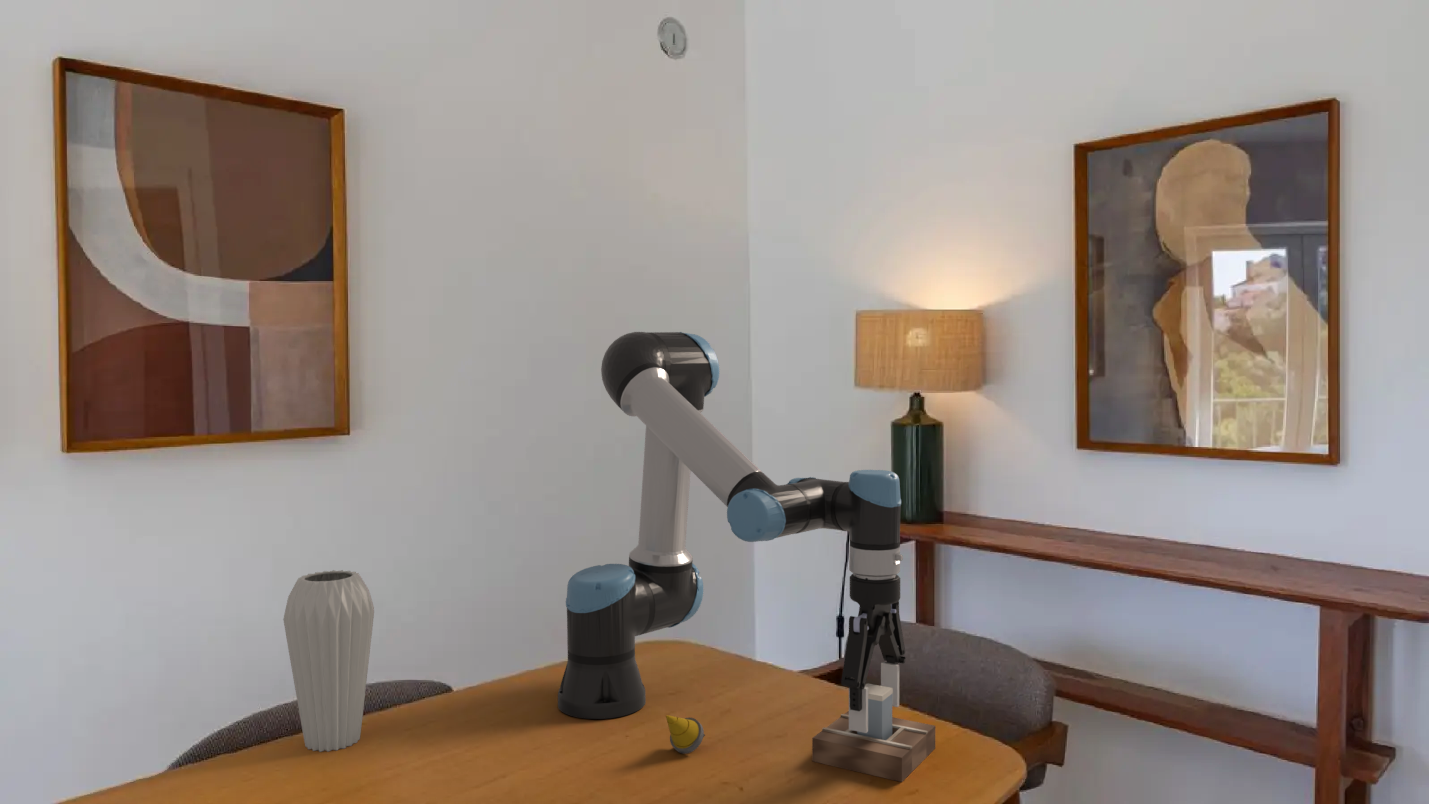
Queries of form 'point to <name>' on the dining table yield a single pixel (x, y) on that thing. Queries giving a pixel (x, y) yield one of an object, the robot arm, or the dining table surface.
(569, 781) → the dining table surface
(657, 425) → the robot arm
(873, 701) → the peg
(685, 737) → the yellow spinning top
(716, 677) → the dining table surface
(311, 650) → the vase
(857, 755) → the socket block
